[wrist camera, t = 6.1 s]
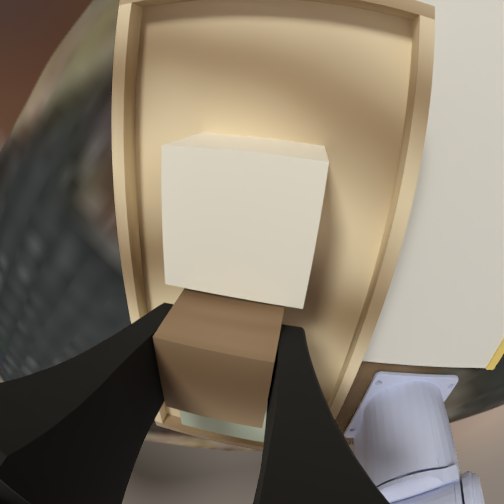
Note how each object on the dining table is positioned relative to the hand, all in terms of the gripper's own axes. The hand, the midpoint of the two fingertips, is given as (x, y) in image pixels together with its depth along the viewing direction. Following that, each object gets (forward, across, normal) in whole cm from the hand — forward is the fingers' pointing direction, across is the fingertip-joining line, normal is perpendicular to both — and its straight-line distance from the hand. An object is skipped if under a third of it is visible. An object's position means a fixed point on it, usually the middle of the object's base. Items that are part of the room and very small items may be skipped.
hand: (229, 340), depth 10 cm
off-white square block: (+3, 0, -4) cm, 5 cm away
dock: (+10, -10, -6) cm, 16 cm away
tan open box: (+5, 0, 0) cm, 5 cm away
